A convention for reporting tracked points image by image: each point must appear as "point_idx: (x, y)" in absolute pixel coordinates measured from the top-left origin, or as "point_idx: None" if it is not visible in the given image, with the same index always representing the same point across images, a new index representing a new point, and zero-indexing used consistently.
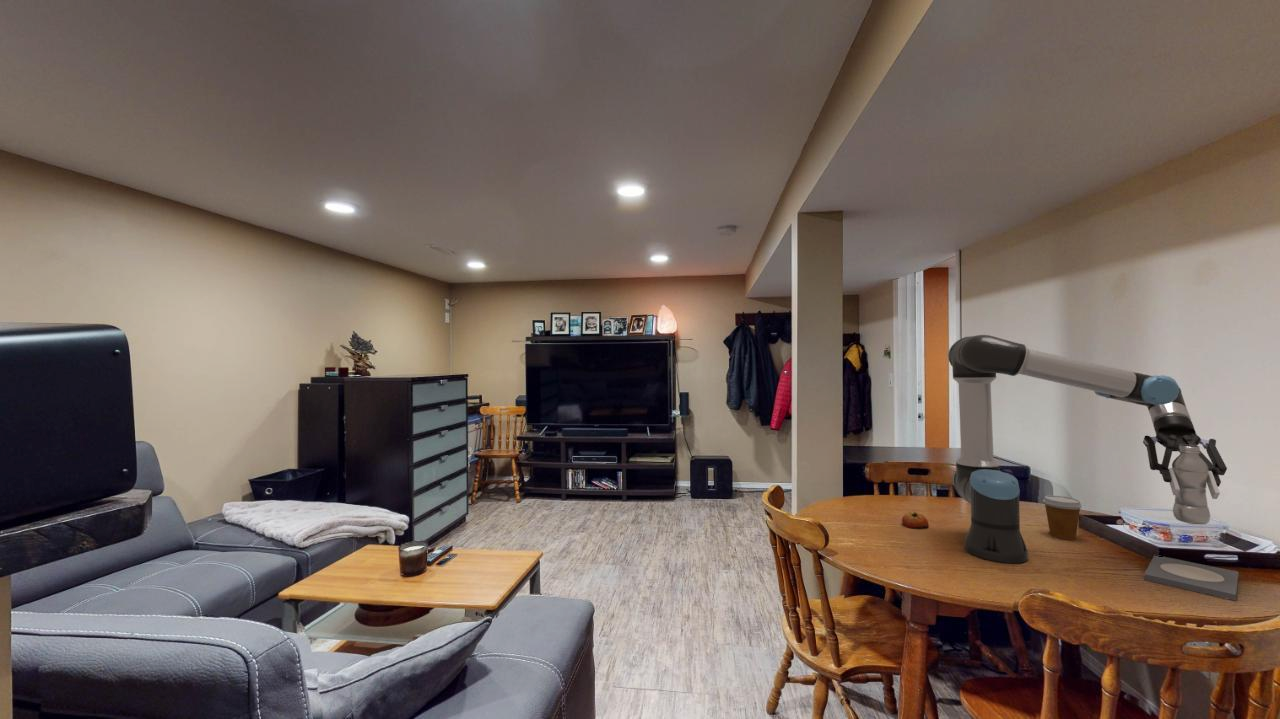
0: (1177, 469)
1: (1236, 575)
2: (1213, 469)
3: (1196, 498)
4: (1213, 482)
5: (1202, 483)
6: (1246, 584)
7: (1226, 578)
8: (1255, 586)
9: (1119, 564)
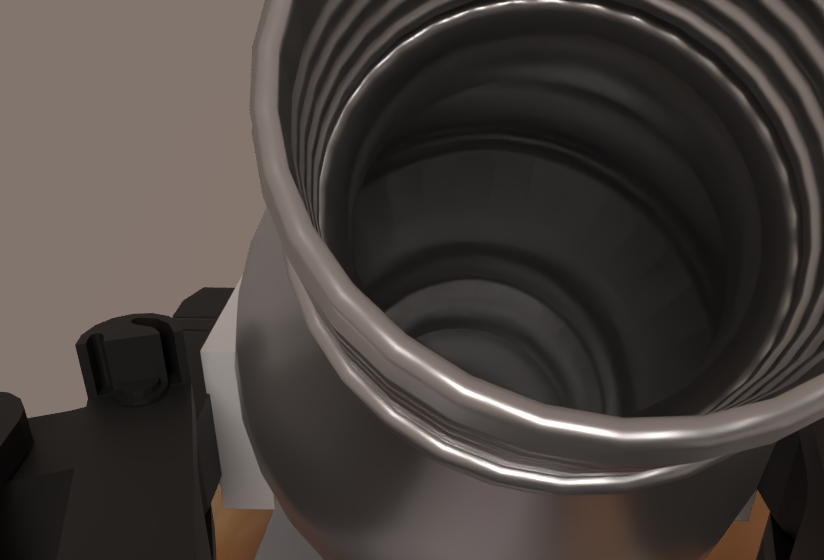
0: (691, 227)
1: (261, 553)
2: (170, 325)
3: (453, 305)
4: None
5: (394, 255)
6: (244, 526)
7: None
8: (218, 515)
9: (720, 541)
